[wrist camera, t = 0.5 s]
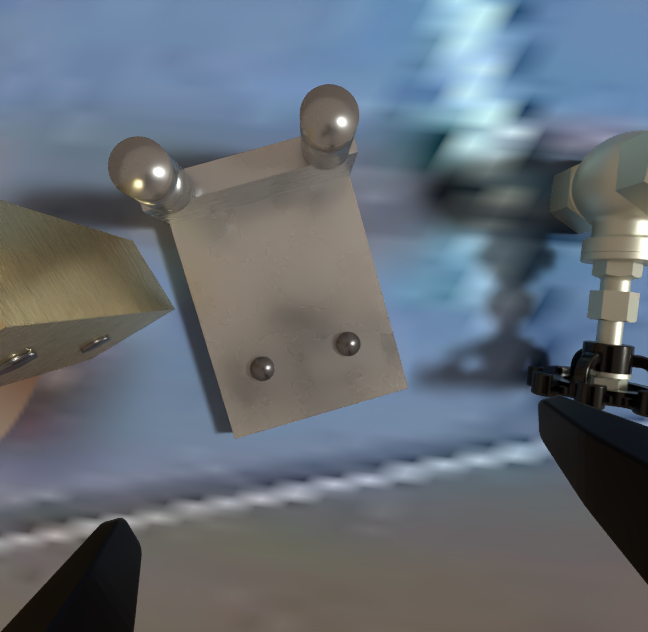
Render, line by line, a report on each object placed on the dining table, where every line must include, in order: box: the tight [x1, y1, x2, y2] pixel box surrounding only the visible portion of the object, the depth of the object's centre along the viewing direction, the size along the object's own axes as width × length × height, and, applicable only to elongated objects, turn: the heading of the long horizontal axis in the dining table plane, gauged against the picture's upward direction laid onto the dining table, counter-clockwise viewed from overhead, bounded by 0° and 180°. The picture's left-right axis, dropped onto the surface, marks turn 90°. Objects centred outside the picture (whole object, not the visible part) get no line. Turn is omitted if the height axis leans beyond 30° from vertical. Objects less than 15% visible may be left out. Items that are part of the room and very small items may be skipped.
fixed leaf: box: [108, 84, 408, 439], centre depth 19 cm, size 12×9×8 cm
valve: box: [527, 130, 648, 417], centre depth 20 cm, size 7×7×12 cm
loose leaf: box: [0, 200, 175, 386], centre depth 15 cm, size 4×5×14 cm
